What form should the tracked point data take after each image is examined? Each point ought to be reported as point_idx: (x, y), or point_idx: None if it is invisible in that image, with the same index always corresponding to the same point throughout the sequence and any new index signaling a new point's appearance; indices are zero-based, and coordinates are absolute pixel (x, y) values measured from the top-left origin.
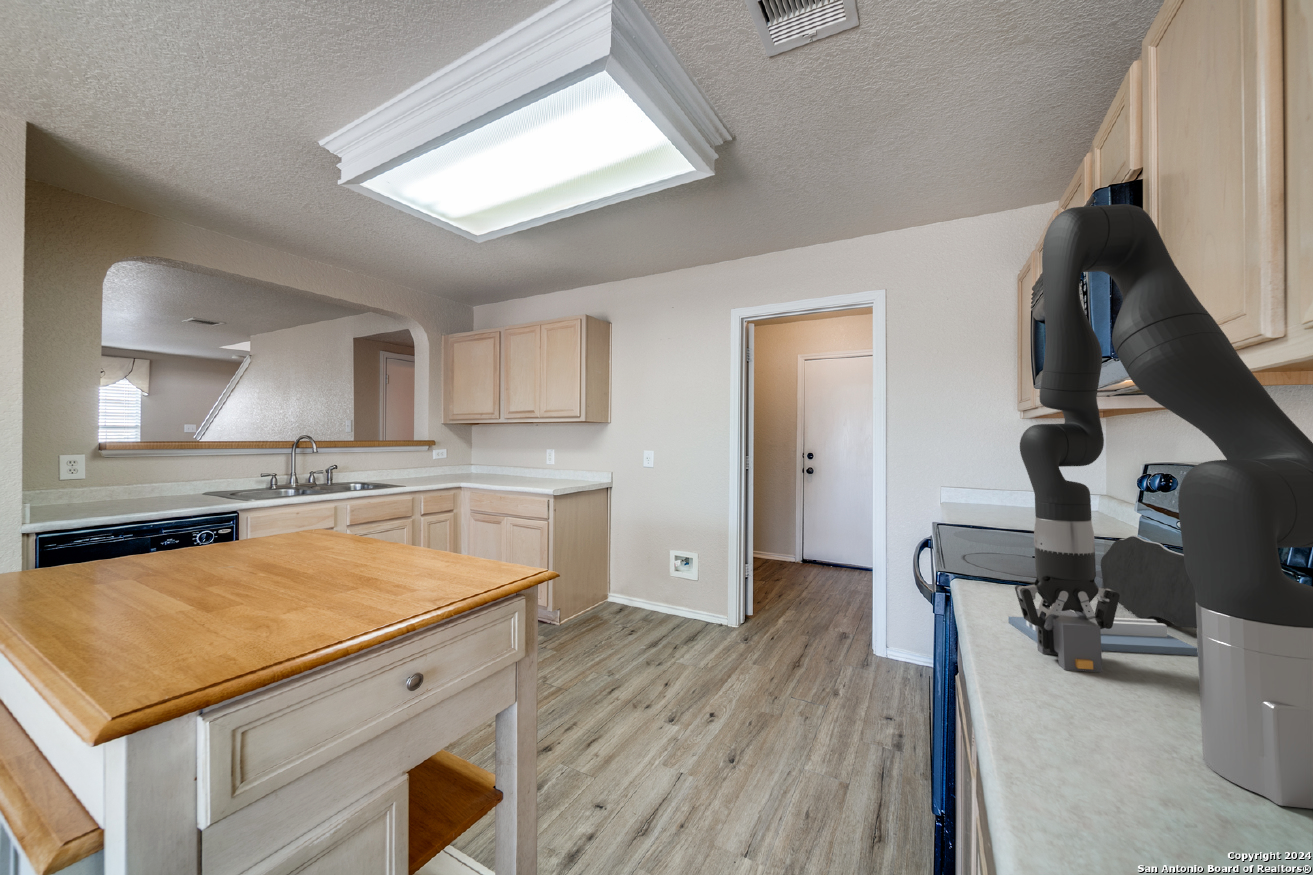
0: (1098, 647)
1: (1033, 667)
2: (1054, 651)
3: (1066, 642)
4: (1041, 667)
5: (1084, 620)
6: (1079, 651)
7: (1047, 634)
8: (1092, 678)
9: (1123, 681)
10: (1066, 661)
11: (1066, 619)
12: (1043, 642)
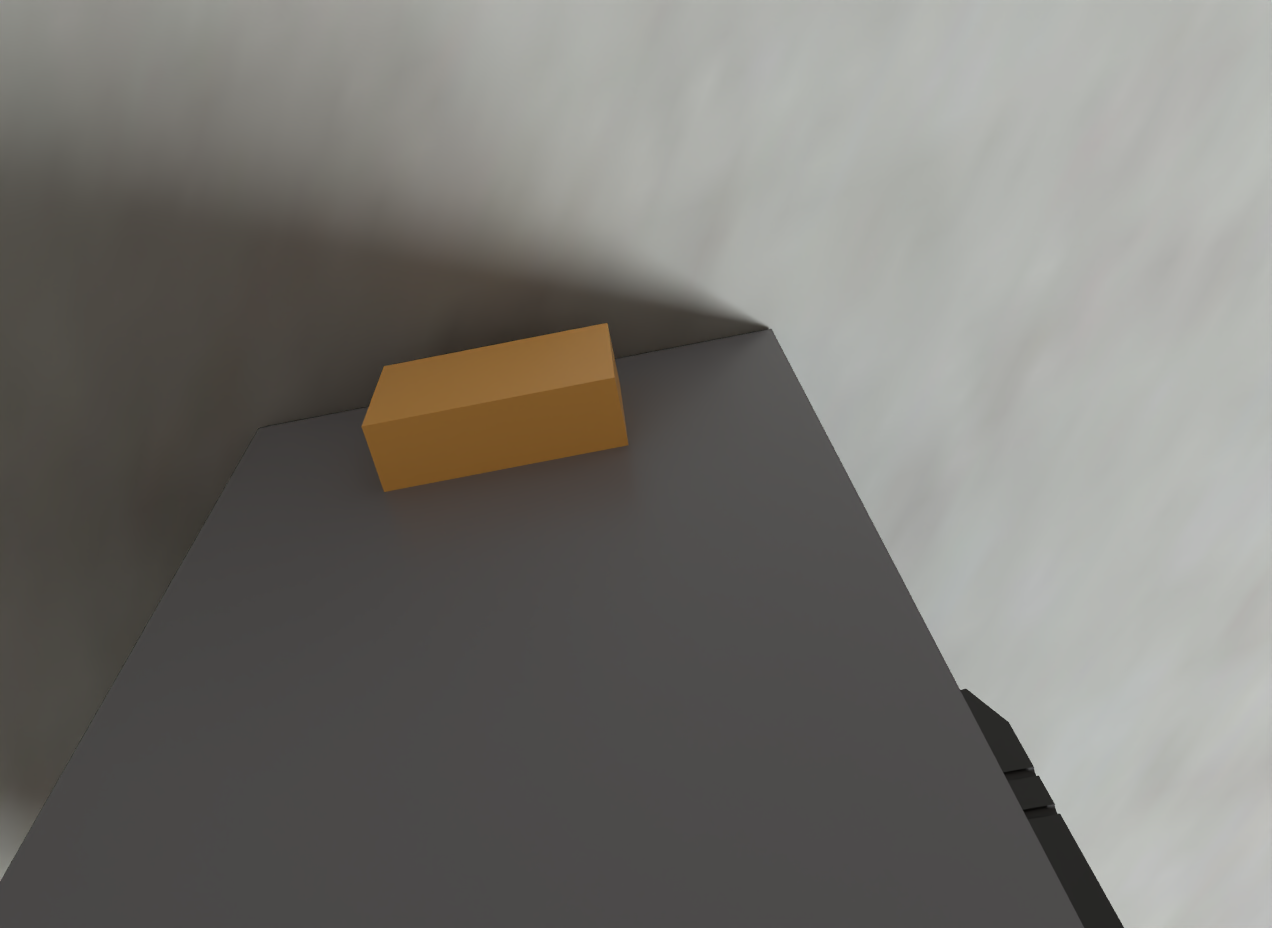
0: (166, 672)
1: (1196, 276)
2: None
3: (840, 601)
4: (1072, 317)
5: None
6: (557, 534)
7: None
8: (467, 119)
9: (21, 161)
10: (764, 396)
11: None
12: (1024, 765)
